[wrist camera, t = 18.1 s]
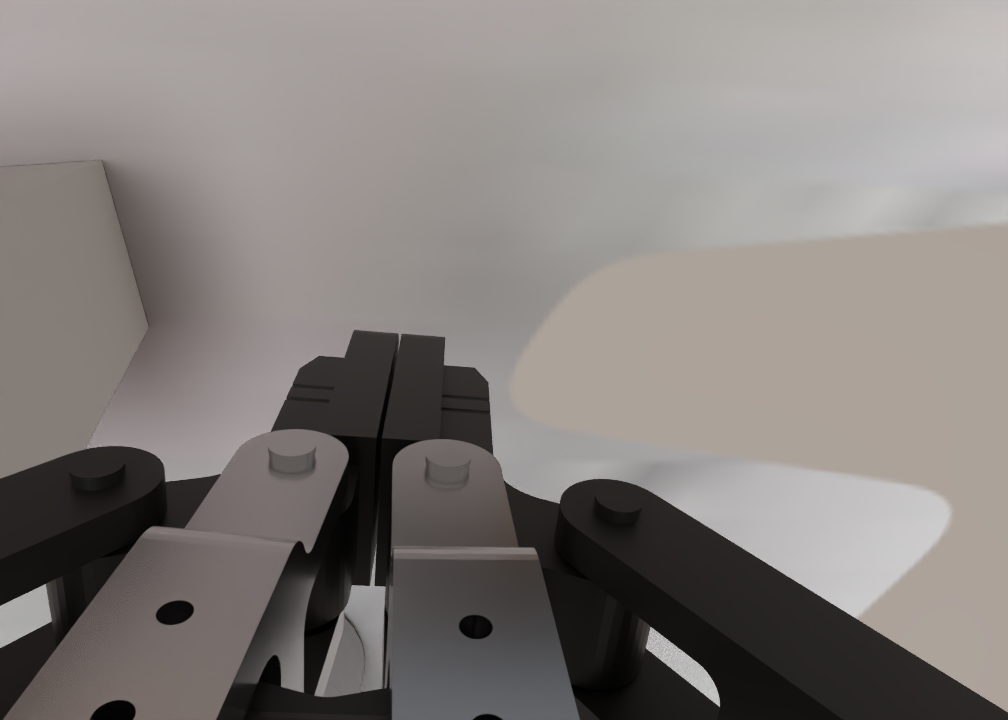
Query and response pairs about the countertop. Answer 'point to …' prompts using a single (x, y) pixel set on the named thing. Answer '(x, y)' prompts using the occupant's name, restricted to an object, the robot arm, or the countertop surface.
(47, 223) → the soap bottle
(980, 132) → the countertop surface
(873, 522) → the countertop surface
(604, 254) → the countertop surface
